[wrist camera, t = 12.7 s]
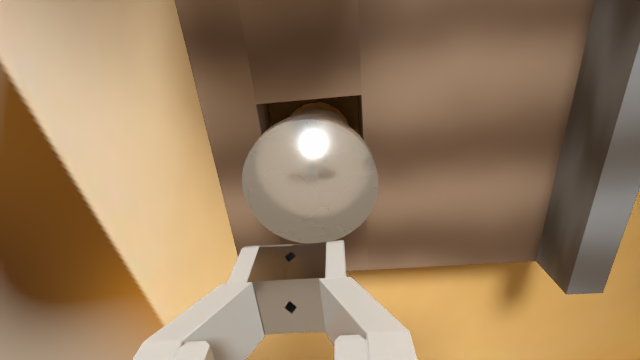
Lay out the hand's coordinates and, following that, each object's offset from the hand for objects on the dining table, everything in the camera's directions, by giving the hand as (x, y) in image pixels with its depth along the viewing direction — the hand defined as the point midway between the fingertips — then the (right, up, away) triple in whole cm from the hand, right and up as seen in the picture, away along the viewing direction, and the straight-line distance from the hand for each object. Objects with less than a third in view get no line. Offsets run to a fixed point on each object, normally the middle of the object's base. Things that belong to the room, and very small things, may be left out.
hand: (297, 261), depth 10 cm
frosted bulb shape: (0, +5, +12) cm, 13 cm away
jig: (+5, +6, +11) cm, 14 cm away
